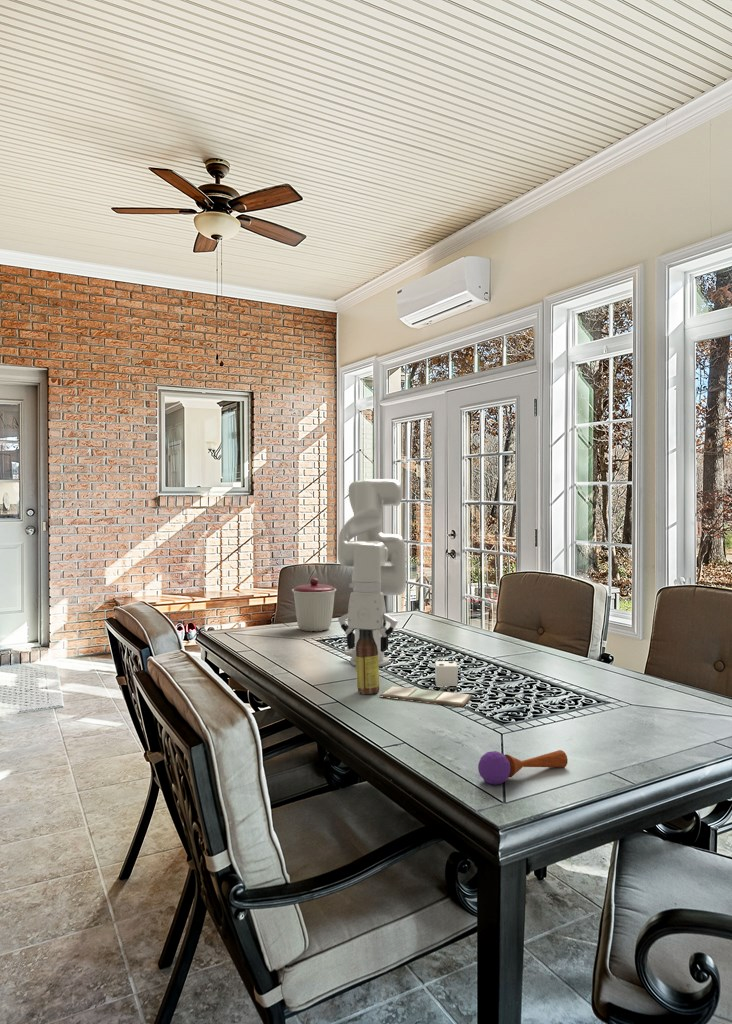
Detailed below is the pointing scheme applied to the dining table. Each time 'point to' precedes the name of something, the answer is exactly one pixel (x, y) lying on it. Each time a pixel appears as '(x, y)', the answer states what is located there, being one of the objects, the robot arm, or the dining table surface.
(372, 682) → the sauce bottle
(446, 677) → the die
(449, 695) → the board
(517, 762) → the kendama
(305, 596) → the canister
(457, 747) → the dining table surface
